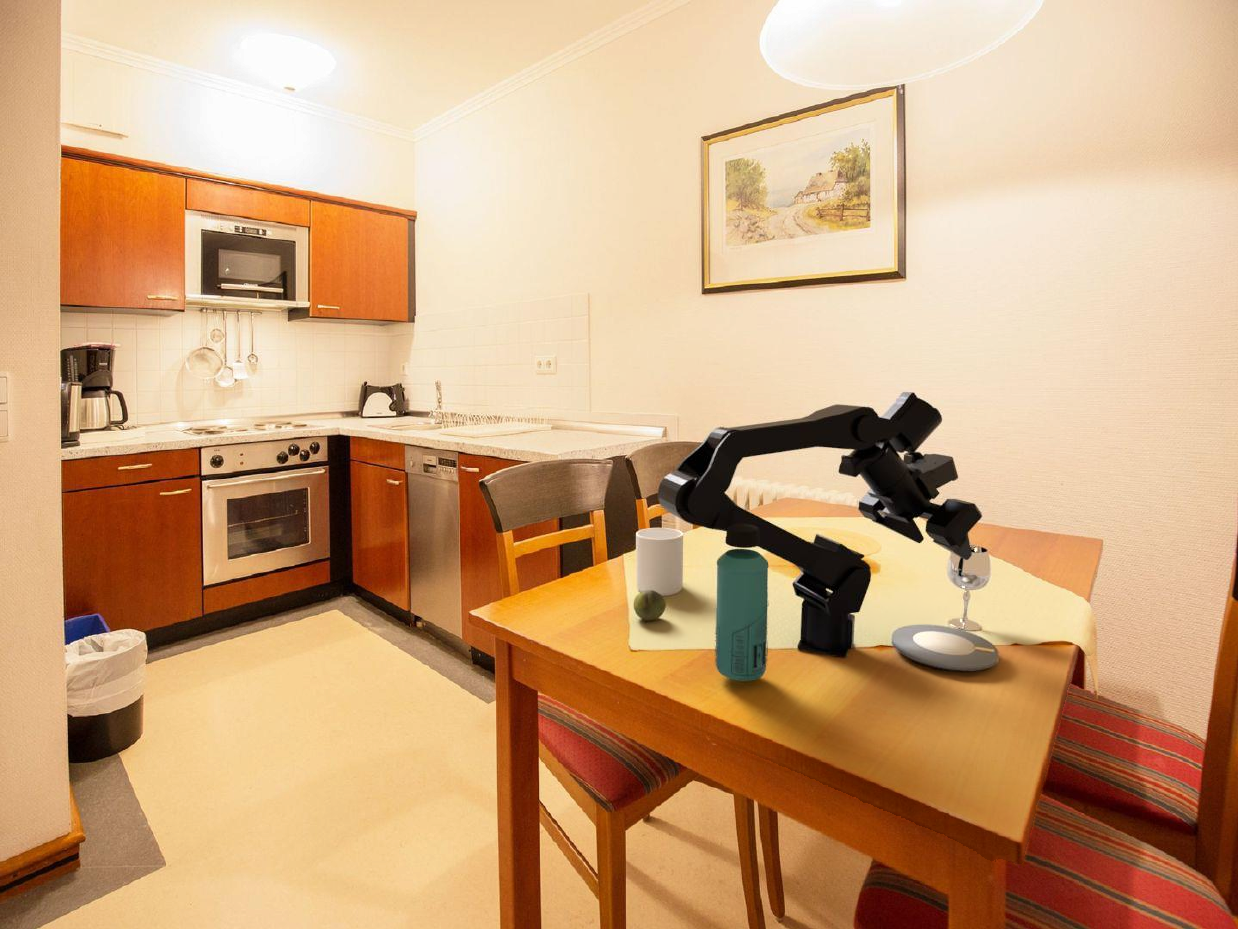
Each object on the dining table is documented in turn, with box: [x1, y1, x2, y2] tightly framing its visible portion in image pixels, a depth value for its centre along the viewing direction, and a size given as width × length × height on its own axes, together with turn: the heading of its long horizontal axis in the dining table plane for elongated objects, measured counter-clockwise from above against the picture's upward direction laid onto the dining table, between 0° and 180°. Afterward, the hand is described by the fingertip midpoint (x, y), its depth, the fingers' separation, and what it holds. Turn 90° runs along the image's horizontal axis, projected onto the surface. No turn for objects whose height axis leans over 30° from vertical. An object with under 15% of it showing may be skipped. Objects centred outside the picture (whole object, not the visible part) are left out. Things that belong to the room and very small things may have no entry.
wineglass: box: [946, 544, 992, 632], centre depth 98 cm, size 6×6×12 cm
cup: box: [635, 527, 684, 597], centre depth 117 cm, size 8×12×10 cm
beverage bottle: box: [714, 524, 770, 682], centre depth 80 cm, size 6×7×20 cm
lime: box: [633, 590, 667, 622], centre depth 101 cm, size 4×5×5 cm
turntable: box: [891, 624, 999, 672], centre depth 89 cm, size 13×13×1 cm
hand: (943, 548), depth 96 cm, fingers open, 9 cm apart
